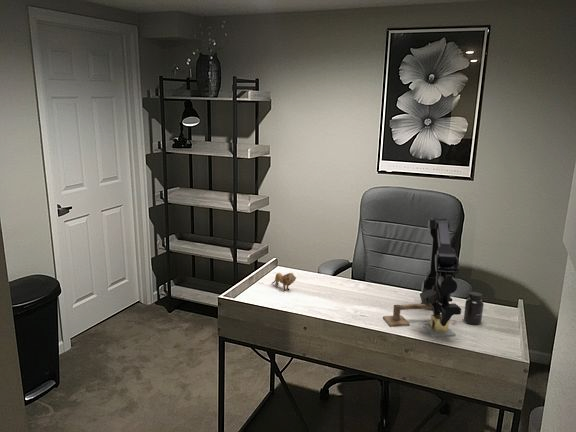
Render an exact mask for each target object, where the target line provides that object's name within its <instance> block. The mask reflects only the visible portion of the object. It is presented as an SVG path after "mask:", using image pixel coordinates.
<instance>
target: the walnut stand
mask: <svg viewBox="0 0 576 432" xmlns="http://www.w3.org/2000/svg"><path fill="white" fill-rule="evenodd" d="M402 310H403V311H405V310H433V308H432V305H431V304H429V305H425V304H421V303H417V304H416V303H414V304H413V303H411V304H393V310H392V311H393V313H392V315H383V316H382V318H383V320H384V321H385V323H387V325H388V326H389V327H390V328H394V327H395V328H396V327H410V326H411V325H410V322H409V321H408V320H407V319H406V318H405V317H404V316H403V315H402V314H401V311H402Z"/></svg>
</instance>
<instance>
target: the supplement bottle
mask: <svg viewBox="0 0 576 432" xmlns="http://www.w3.org/2000/svg"><path fill="white" fill-rule="evenodd" d="M482 299H483V294H482V293H481V292H476V291H470V292H469V295H468V297H467V299H466V300H465V304H464V305H465V306H464V313H463V322H465V323H467V324H468V325H472V326H478V325H481V324H482V320H483V312H484V306H485V305H484V302H483V300H482Z"/></svg>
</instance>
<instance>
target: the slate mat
mask: <svg viewBox="0 0 576 432" xmlns="http://www.w3.org/2000/svg"><path fill="white" fill-rule="evenodd" d="M430 326H431V324H429V325H427V324H426V325H425V324H424V325H423V326H422V328H424V330H426V332H428V333H429V335H430V336H431V337H433V338H447V337H456V335H457V334H456V333H454V332H453V331H452V330H451V329H450V328H449V327H448V332H444V333H435V332H434V330H435V329H431V328H430Z"/></svg>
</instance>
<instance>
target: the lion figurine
mask: <svg viewBox="0 0 576 432" xmlns="http://www.w3.org/2000/svg"><path fill="white" fill-rule="evenodd" d="M296 280H297V277H296V276H295V274H294V273H293V272H289V273H286V274H282V273H280V272H277V273H276V274H275V278H274V281H273V282H271V284H274V285H275V286H274V287H278V285H277V284H279V285H280V283H281V284H282V289H283V290H284V291H285V290H286V291H287V289H289V286H291V284H293V283H295V281H296ZM283 290H282V291H283ZM284 291H283V292H284Z"/></svg>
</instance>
